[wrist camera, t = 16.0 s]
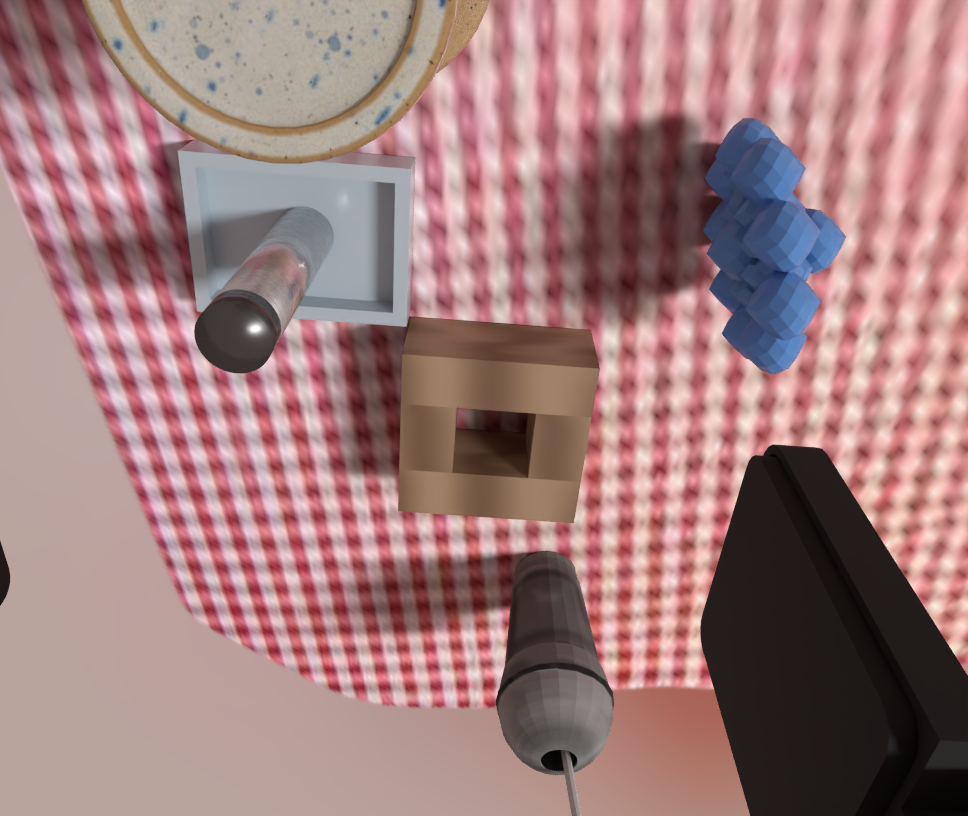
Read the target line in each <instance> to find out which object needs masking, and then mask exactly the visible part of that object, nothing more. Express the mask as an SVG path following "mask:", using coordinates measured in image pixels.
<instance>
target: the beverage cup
mask: <svg viewBox="0 0 968 816" xmlns="http://www.w3.org/2000/svg"><path fill="white" fill-rule="evenodd" d="M496 706H497V711H498V715H499V718H500V723H501V727H502V731H503V735H504V737H505V740H506V742H507V743H508V745H509V746H510V748H511V749H512V750H513V752H514V753H515V754H516V756H517V757H518V758H519V759H520V760H521V761H522V762H523V763H525V764H526V765H528V766H529V767H531V768H533V769H535V770H536V771H539V772H542V773H545V774H553V775H563V774H565V778H566V784H567V790H568V796H569V801H570V807H571V813H572V816H581V810H580V804H579V799H578V793H577V788H576V782H575V777H574V772H577V771H579V770H581V769H582V768H584V767H585V766H587V765H589V764H590V763H591V762H592V761H593V760H594V759H595V758H596V757H597V756H598V755H599V753H600V752H601V751H602V750H603V748H604V746H605V744H606V741H607V739H608V736H609V733H610V730H611V727H612V719H613V715H612V711H613V708H614V699H613V691H612V690H611V688H610V687H609V685H608V681H607V678H606V676H605V673H604V671H603V668H602V667H601V665H600V663H599V660H598V656H597V652H596V648H595V644H594V640H593V635H592V631H591V627H590V623H589V619H588V615H587V611H586V607H585V603H584V599H583V595H582V591H581V587H580V583H579V581H578V578H577V575H576V573H575V567H574V565H573V564H572V562H571V561H570V560H569V559H568V558H567V557H565V556H564V555H561V554H559V553H556V552H550V551H543V552H536V553H533V554H530V555H528V556H527V557H525V558H524V559H522V560H521V561H520V563H519V564H518V565H517V567H516V571H515V580H514V584H513V588H512V598H511V608H510V619H509V629H508V640H507V650H506V661H505V668H504V672H503V676H502V680H501V684H500V689H499V691H498V695H497V699H496Z"/></svg>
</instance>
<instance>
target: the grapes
mask: <svg viewBox="0 0 968 816" xmlns="http://www.w3.org/2000/svg"><path fill="white" fill-rule="evenodd" d="M715 157H716V160H715V161H714V163H713V165H712V166H711V168H710V169H709V171H708V173H707V175H706V177H705V181H706V182H707V183H708V184H709V186H710V187H711V188H712V189H713V190H714V192H715V193H716V194H717V195H718V196H719V197H720V198H721V199H723V200H724V201H722V202H721V203H720V204H719V205H718V206H717V208H716V209H715V210H714V212H713V213H712V215H711V216H710V218H709V219H708V221H707V223H706V225H705V227H704V229H703V232H704V233H705V234H706V236H707V237H708V238H709V239H710V240H711V241H712V244H711V246H710V248H709V250H708V252H707V254H708V255H709V257H710V258H711V259H712V260H713V261H714V263H715V264H716V265H717V266H718V267H719V268H720V269H721V270H720V271H719V273H718V274H717V276H716V277H715V279H714V281H713V283H712V285H711V287H710V289H709V290H710V291H711V292H712V293H713V294H714V296H715V297H716V298H717V299H718V300H719V301H720V302H721V303H722V304H723V305H724V306H725V307H726V308H727V309H728V310H729V311H731V312H732V313H733V314H732V316H731V318H730V319H729V321H728V322H727V324H726V326H725V328H724V330H723V332H722V334H723V336H724V337H725V338H726V339H727V341H728V342H729V343H730V344H731V345H732V346H733V347H734V348H735V349H736V350H737V351H738V352H739V353H740V354H742V355H743V356H744V357H745V358H746V359H750V360H751V361H752V362H753V363H754V364H755V365H756V366H757V367H758V368H759V369H761V370H762V371H764V372H768V373H771V374H776V373H779V372H781V371H784V370H786V369H788V368H789V367H790V366H791V364H792V363H793V362H794V360H795V359H796V358H797V356H798V354H799V352H800V350H801V349H802V347H803V344H804V342H805V340H806V338H807V336H806V334H805V333H804V332H803V331H804V330H805V329H806V327H807V326H808V325H809V323H810V322H811V320H812V318H813V316H814V314H815V312H816V310H817V308H818V306H819V304H820V302H821V300H820V298H819V297H818V296H817V295H816V293H815V292H814V291H813V290H812V289H811V287H810V286H809V285H808V284H807V283H806V282H805V281H807V279H808V277H809V275H810V273H819V272H821V271H823V270H824V269H826V268H828V267H829V265H830V264H831V263H832V261H833V260H834V259H835V257H836V256H837V254H838V252H839V250H840V248H841V246H842V244H843V242H844V240H845V238H846V236H845V235H844V234H843V232H842V231H841V230H840V228H839V227H838V226H837V225H836V223H835V222H834V221H833V220H832V219H831V218H830V217H829V216H827V215H826V214H825V213H823V212H822V211H821V210H814V209H806V208H805V207H804V206H803V205H802V203H801V202H800V201H799V200H798V199H797V198H796V197H795V195H794V194H793V193H792V191H793V190H794V189H795V187H796V186H797V184H798V183H799V181H800V179H801V177H802V175H803V173H804V171H805V169H806V168H805V167H804V166H803V164H802V163H801V162H800V160H799V159H798V158H797V157H796V155H795V154H794V153H793V152H792V150H791V149H790V148H789V147H787V146H786V145H785V144H783V143H782V142H781V141H780V140H779V139H778V137H777V136H776V135H775V134H774V132H773V131H772V130H771V129H770V128H769V127H768V126H766V125H765V124H764V123H762V122H761V121H759V120H757V119H752V118H743V119H742V120H741V121H739V122H738V123H737V124H736V125H734V126H733V127H732V129H731V130H730V131H729V132H728V134H727V136H726V137H725V139H724V140H723V142H722V143H721V145H720V147H719V149H718V151H717V153H716V155H715Z"/></svg>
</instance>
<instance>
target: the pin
mask: <svg viewBox="0 0 968 816" xmlns="http://www.w3.org/2000/svg"><path fill="white" fill-rule="evenodd" d="M333 242H334V233H333V229H332V226H331V224H330V222H329V221H328V219H327V218H326V217H325V216H324V215H323V214H322V213H320V212H319V211H317V210H315V209H313V208H309V207H295V208H292V209H290V210H288V211H286V212H285V213H284V214H283V215H282V216H281V218H280V219H279V220H278V221H277V222H276V224H275V225H274V226H273V227H272V228H271V230H270V231H269V232H268V233H267V235H266V236H265V237H264V238H263V239H262V241H261V242H260V243H259V244H258V246H257V247H256V248H255V249H254V250H253V252H252V253H251V254H250V255H249V256H248V258H247V259H246V260H245V261H244V263H243V264H242V265H241V266H240V267H239V269H238V270H237V271H236V272H235V273H234V275H233V276H232V277H231V278H230V280H229V281H228V282H227V283H226V284H225V286H224V287H223V288H222V289H221V291H220V292H219V293H218V294H217V295H216V297H215V298H214V299H213V300H212V301H211V303H210V304H209V305H208V306H207V308H206V309H205V310H204V311H203V312H202V314H201V315H200V316H199V318H198V320H197V322H196V325H195V331H194V332H195V340H196V343H197V346H198V348H199V350H200V352H201V353H202V354H203V356H204V357H205V358H206V359H207V360H208V361H209V362H210V363H212V364H213V365H215V366H216V367H218V368H220V369H222V370H225V371H228V372H232V373H248V372H252V371H255V370H257V369H258V368H260V367H261V366H263V365H264V364H265V363H266V361H267V360H268V358H269V357H270V355H271V353H272V351H273V350H274V348H275V346H276V345H277V343H278V341H279V339H280V338H281V336H282V334H283V332H284V331H285V329H286V327H287V325H288V324H289V322H290V320H291V318H292V317H293V315H294V313H295V311H296V310H297V308H298V306H299V304H300V303H301V301H302V299H303V297H304V296H305V294H306V292H307V290H308V289H309V287H310V285H311V284H312V282H313V280H314V278H315V277H316V275H317V273H318V271H319V270H320V268H321V266H322V264H323V263H324V261H325V259H326V257H327V256H328V254H329V252H330V250H331V248H332V246H333Z"/></svg>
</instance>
